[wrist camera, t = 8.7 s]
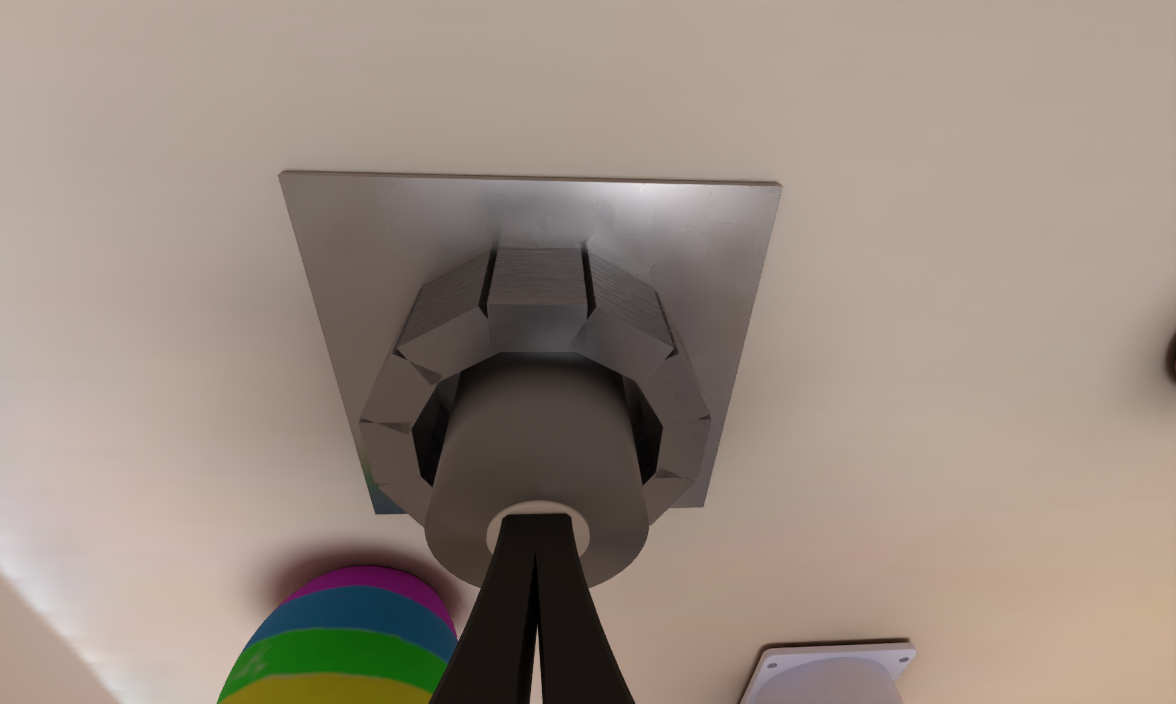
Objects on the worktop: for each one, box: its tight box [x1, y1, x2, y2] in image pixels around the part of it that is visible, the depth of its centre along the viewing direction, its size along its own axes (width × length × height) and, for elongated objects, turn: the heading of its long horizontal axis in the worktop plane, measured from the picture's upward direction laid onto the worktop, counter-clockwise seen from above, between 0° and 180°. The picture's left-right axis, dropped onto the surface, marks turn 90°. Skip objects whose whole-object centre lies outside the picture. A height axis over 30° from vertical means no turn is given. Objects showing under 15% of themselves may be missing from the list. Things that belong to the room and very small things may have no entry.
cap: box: [424, 352, 649, 588], centre depth 14 cm, size 5×5×6 cm
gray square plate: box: [278, 171, 783, 528], centre depth 15 cm, size 12×12×3 cm
